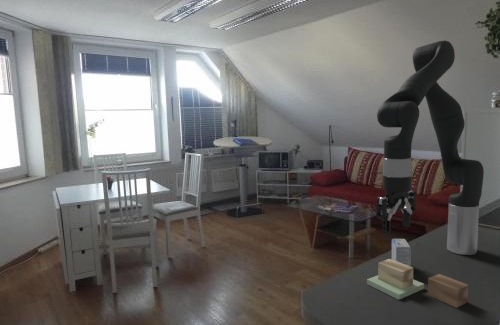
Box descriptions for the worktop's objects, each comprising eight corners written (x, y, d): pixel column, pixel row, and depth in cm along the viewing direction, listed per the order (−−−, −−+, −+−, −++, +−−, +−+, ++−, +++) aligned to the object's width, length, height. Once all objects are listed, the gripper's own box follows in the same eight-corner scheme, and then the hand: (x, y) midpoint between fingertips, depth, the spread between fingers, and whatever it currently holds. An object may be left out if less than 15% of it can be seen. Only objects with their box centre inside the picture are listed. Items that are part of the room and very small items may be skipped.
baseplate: (391, 274, 111) (391, 270, 110) (423, 288, 101) (424, 283, 101) (366, 284, 105) (366, 279, 105) (399, 299, 96) (399, 294, 95)
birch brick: (388, 274, 108) (389, 258, 107) (412, 284, 101) (413, 267, 100) (378, 278, 105) (378, 262, 104) (402, 289, 98) (402, 272, 98)
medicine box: (410, 273, 111) (411, 247, 110) (395, 273, 112) (396, 246, 111) (405, 263, 119) (405, 238, 117) (391, 262, 119) (391, 238, 118)
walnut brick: (438, 290, 100) (439, 273, 100) (467, 302, 93) (468, 285, 93) (427, 295, 98) (428, 278, 97) (456, 308, 91) (457, 290, 90)
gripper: (401, 169, 105) (401, 221, 108) (368, 175, 98) (368, 231, 100) (425, 172, 99) (423, 228, 101) (391, 178, 92) (391, 238, 94)
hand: (396, 229), depth 101 cm, fingers open, 8 cm apart
